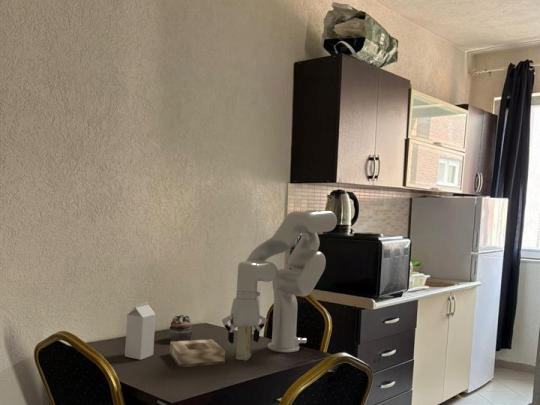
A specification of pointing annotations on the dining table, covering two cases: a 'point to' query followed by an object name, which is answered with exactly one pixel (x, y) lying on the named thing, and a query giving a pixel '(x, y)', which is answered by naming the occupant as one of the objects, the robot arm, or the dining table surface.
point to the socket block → (197, 353)
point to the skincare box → (244, 343)
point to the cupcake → (180, 328)
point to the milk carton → (140, 332)
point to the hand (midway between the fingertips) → (243, 342)
